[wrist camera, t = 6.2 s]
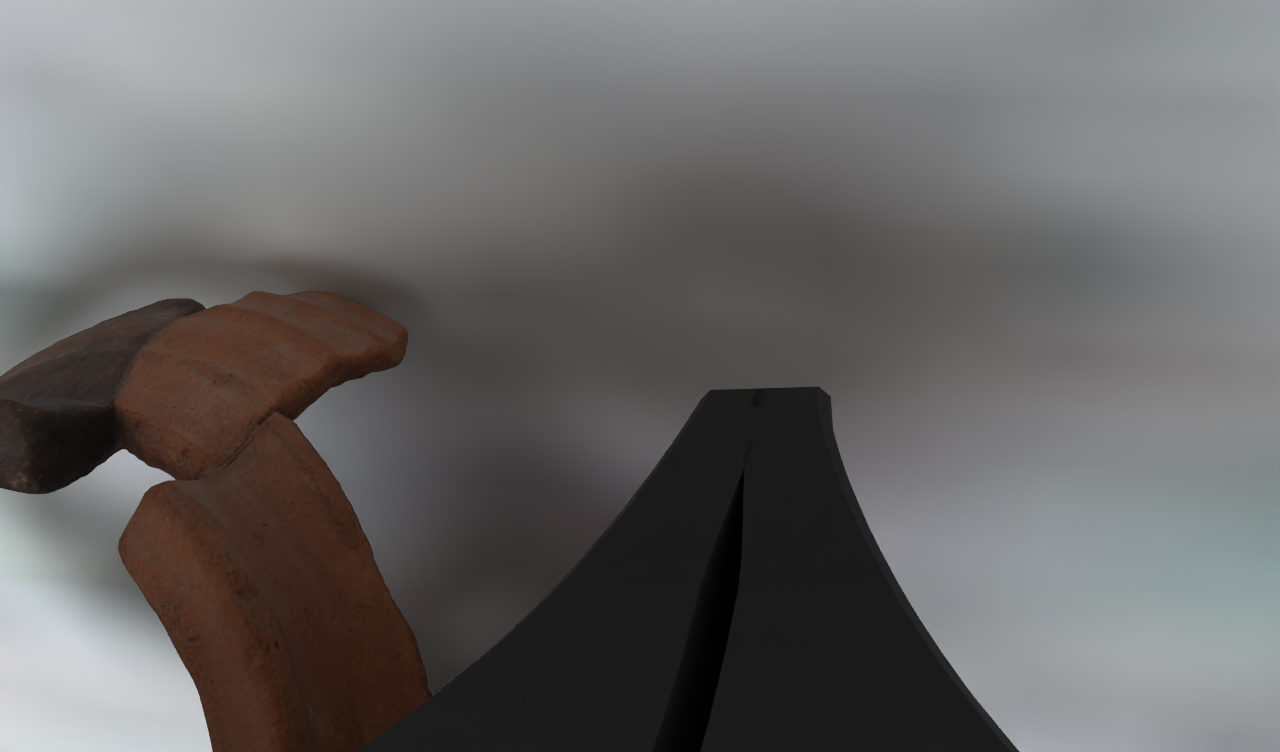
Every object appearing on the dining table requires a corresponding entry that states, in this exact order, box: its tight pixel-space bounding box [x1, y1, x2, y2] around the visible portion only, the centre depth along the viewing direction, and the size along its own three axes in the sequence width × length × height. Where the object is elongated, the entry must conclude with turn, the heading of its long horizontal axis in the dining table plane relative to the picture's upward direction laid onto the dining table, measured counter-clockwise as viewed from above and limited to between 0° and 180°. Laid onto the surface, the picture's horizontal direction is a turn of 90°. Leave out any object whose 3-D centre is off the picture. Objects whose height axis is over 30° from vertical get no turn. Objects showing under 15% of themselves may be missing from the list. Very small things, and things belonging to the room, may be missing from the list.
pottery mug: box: [0, 291, 432, 752], centre depth 14 cm, size 12×10×8 cm
